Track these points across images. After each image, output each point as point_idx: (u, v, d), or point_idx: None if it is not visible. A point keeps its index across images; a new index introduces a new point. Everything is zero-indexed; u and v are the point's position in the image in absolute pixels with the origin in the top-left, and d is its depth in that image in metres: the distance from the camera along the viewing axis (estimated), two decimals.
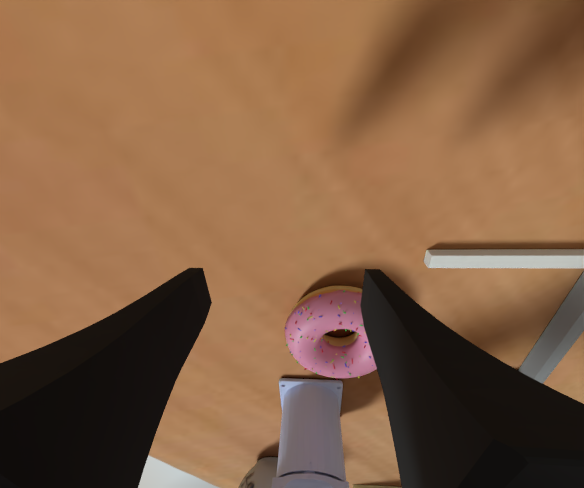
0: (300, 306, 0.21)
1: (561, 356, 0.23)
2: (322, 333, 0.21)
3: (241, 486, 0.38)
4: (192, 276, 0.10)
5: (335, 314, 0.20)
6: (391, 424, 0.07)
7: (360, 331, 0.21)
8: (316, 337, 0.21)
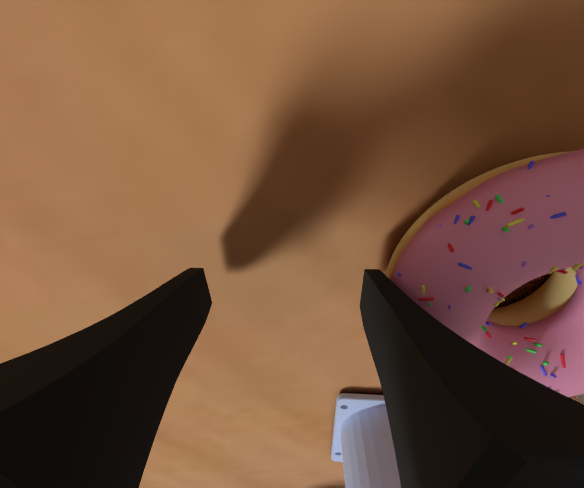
0: (458, 205, 0.08)
1: None
2: (532, 278, 0.07)
3: None
4: (193, 276, 0.10)
5: None
6: (390, 424, 0.07)
7: None
8: (508, 291, 0.07)
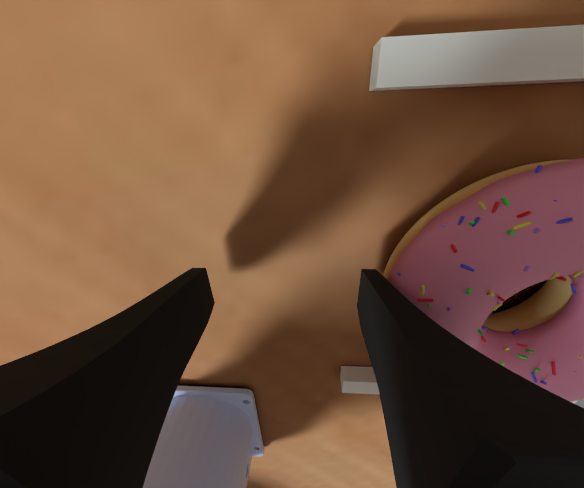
0: (463, 206, 0.08)
1: None
2: (532, 283, 0.07)
3: None
4: (195, 276, 0.10)
5: None
6: (386, 424, 0.07)
7: None
8: (508, 295, 0.07)
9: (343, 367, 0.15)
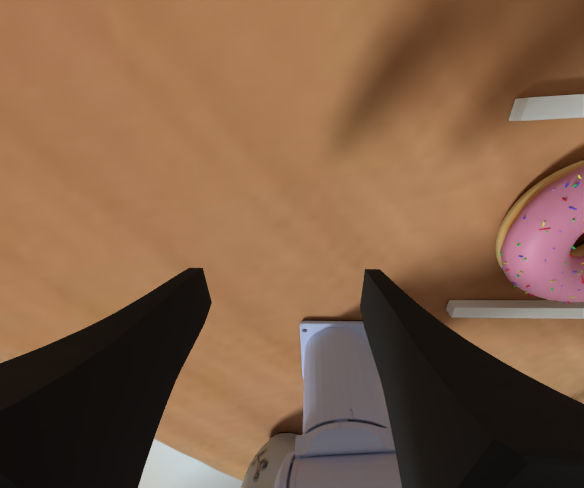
0: (566, 178, 0.14)
1: None
2: None
3: (252, 465, 0.32)
4: (192, 276, 0.10)
5: None
6: (391, 424, 0.07)
7: None
8: None
9: (451, 300, 0.22)
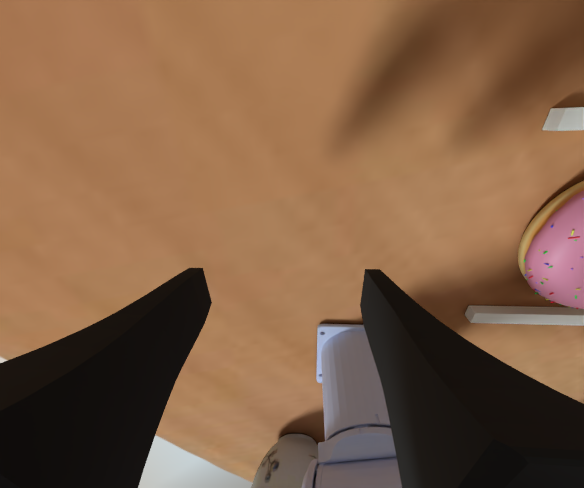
0: None
1: None
2: None
3: (262, 465, 0.32)
4: (192, 276, 0.10)
5: None
6: (391, 424, 0.07)
7: None
8: None
9: (470, 306, 0.22)
